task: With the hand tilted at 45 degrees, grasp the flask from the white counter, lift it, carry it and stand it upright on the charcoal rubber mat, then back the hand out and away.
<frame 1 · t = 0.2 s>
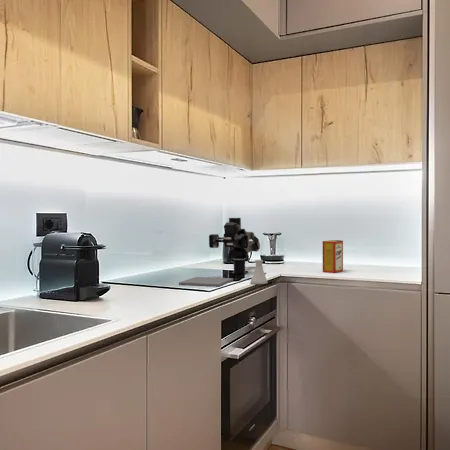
hand: (223, 243, 207), 17 cm above the worktop, tool horizontal, fingers open, 9 cm apart
flask: (259, 283, 199), on the worktop
mat: (206, 282, 202), on the worktop
baking soda box: (332, 272, 236), on the worktop
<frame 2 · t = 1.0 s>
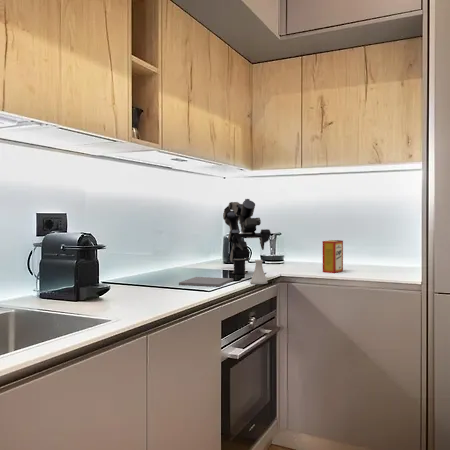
hand: (253, 249, 206), 14 cm above the worktop, tool tilted 45°, fingers open, 9 cm apart
nothing on the worktop moved.
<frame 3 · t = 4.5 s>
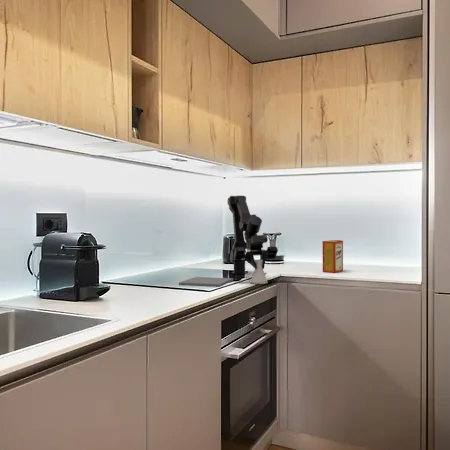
hand: (259, 268, 198), 7 cm above the worktop, tool tilted 45°, fingers closed on flask, 3 cm apart
flask: (259, 283, 199), on the worktop, touching gripper
everything else where it was.
when the fingers open (9 cm above the worktop, at t = 9.1 s): flask stays where it is, resting on mat.
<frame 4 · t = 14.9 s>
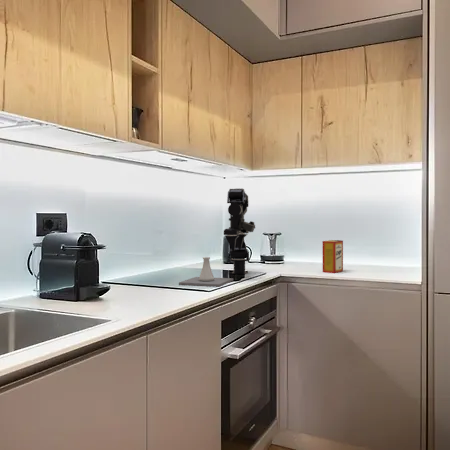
hand: (236, 250, 215), 13 cm above the worktop, tool pointing down, fingers open, 9 cm apart
flask: (206, 280, 202), point 1 cm above the worktop, touching mat
everything else where it was.
at the end: flask inside the target area on the mat (0.1 cm from its centre), point 0.8 cm above the mat's base; flask tilted 0°; the gripper is holding nothing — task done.
